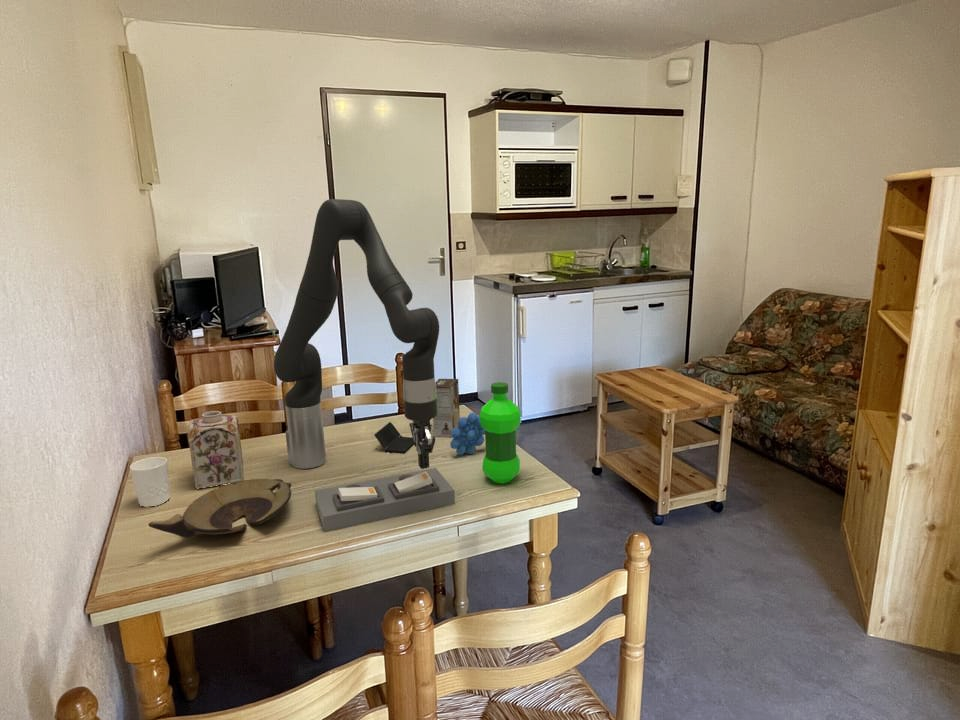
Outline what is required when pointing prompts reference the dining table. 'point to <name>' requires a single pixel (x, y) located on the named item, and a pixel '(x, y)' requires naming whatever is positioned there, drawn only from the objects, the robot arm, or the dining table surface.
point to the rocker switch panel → (382, 500)
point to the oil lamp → (229, 508)
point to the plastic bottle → (500, 435)
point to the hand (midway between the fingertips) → (424, 467)
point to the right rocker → (413, 482)
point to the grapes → (467, 434)
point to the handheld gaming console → (393, 440)
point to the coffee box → (446, 407)
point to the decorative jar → (215, 449)
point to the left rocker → (357, 493)
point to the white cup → (151, 480)
